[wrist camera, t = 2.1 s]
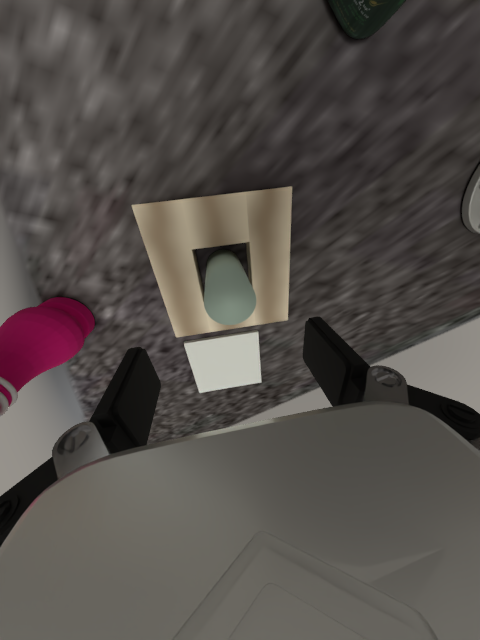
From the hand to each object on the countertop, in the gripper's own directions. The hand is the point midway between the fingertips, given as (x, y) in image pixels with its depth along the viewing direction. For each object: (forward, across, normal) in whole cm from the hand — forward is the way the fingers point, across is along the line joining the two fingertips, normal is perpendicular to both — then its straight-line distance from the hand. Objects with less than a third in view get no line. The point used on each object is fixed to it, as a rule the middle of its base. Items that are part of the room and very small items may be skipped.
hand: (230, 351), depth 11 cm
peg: (+17, -1, 0) cm, 17 cm away
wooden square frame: (+17, -1, 0) cm, 17 cm away
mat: (+17, +1, +17) cm, 24 cm away
